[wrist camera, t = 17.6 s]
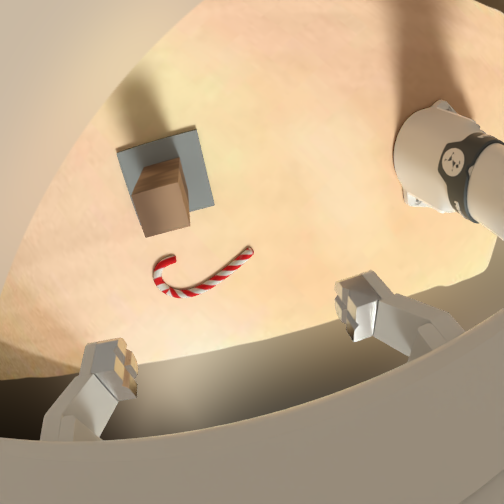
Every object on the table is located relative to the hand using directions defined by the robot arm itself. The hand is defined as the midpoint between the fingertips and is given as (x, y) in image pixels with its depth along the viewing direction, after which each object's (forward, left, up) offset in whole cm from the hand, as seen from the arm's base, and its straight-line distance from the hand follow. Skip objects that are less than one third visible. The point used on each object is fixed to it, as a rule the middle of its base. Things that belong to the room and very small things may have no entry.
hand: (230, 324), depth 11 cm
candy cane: (-4, +16, -30) cm, 34 cm away
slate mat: (+3, +4, -29) cm, 30 cm away
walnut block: (+3, +4, -29) cm, 29 cm away
